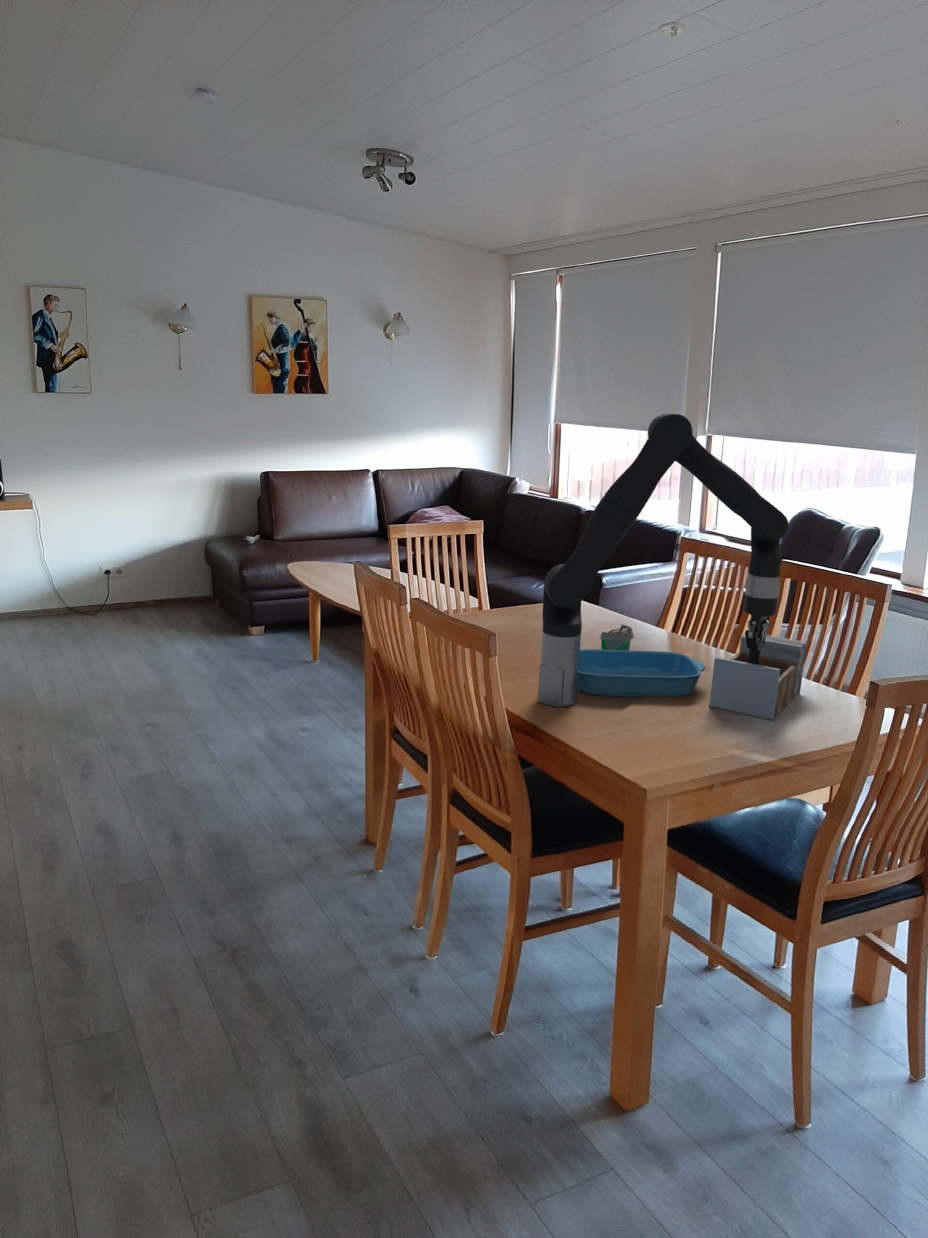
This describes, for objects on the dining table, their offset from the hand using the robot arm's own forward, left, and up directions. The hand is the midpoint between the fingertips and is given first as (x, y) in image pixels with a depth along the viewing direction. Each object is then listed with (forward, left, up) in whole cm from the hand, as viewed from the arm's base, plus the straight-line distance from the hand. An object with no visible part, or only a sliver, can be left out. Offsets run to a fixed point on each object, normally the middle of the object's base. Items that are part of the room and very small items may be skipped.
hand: (753, 663), depth 226 cm
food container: (+15, +40, -12) cm, 44 cm away
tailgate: (-6, 0, -11) cm, 12 cm away
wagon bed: (+8, 0, -12) cm, 14 cm away
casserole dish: (-1, +30, -12) cm, 32 cm away
